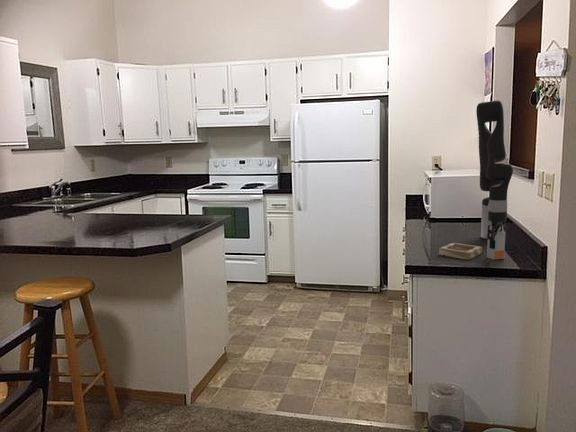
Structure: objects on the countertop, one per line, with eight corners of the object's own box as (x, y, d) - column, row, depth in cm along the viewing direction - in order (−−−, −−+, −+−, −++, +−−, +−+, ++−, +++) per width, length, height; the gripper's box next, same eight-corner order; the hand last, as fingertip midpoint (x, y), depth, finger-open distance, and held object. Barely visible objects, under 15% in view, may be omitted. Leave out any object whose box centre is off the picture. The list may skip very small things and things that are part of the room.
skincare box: (493, 260, 211) (494, 232, 209) (486, 257, 215) (487, 231, 213) (504, 258, 213) (506, 231, 211) (498, 256, 217) (499, 229, 215)
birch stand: (452, 248, 232) (452, 242, 232) (482, 253, 223) (482, 246, 222) (438, 254, 223) (439, 248, 222) (469, 259, 213) (469, 252, 212)
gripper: (495, 207, 218) (493, 242, 221) (482, 211, 208) (480, 248, 211) (512, 208, 213) (510, 244, 216) (500, 213, 203) (498, 251, 205)
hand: (496, 246), depth 213 cm, fingers open, 8 cm apart
